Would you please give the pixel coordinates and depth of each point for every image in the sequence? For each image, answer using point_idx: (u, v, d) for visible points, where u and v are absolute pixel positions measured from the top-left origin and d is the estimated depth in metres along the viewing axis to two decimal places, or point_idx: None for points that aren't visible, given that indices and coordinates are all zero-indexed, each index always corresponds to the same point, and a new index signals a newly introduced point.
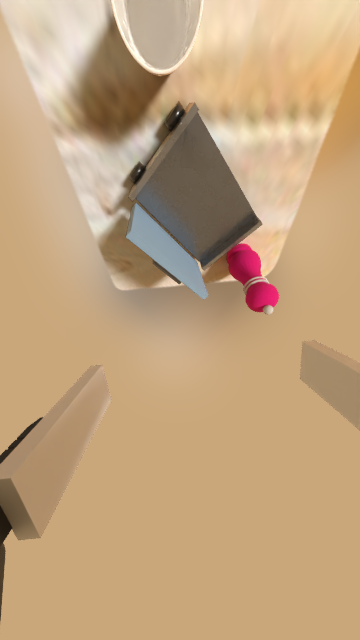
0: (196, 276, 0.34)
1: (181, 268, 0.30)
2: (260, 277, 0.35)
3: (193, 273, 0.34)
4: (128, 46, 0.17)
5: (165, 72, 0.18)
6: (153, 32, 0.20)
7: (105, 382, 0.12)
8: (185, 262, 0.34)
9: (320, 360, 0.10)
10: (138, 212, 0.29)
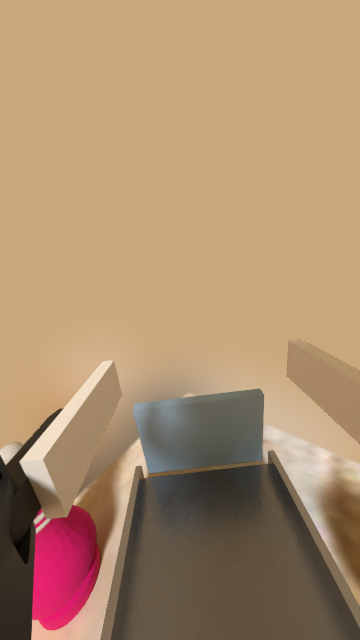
0: (156, 430, 0.24)
1: (188, 415, 0.23)
2: (38, 528, 0.16)
3: (163, 430, 0.24)
4: None
5: None
6: None
7: (116, 377, 0.12)
8: (178, 438, 0.25)
9: (303, 357, 0.10)
10: (257, 444, 0.25)
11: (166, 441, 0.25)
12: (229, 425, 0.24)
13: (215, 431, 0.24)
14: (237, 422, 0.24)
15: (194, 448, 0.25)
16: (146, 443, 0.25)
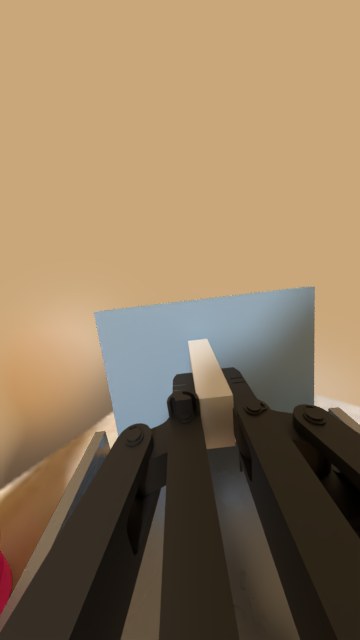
0: (133, 355, 0.14)
1: (186, 324, 0.14)
2: None
3: (144, 356, 0.14)
4: None
5: None
6: None
7: None
8: (170, 373, 0.15)
9: None
10: (304, 391, 0.15)
11: (149, 379, 0.15)
12: (256, 349, 0.14)
13: (232, 361, 0.14)
14: (269, 343, 0.14)
15: None
16: (116, 381, 0.15)
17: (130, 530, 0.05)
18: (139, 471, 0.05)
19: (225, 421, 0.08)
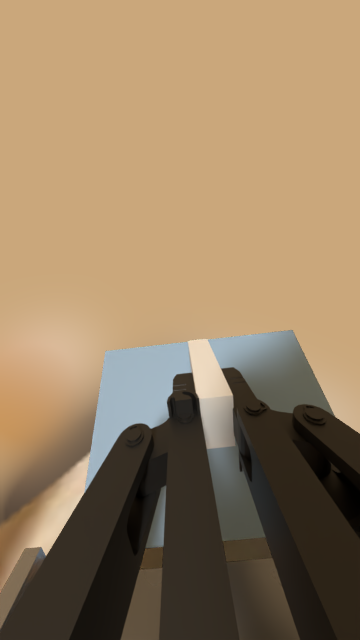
0: (129, 392, 0.14)
1: (184, 361, 0.15)
2: None
3: (140, 393, 0.14)
4: None
5: None
6: None
7: None
8: (165, 415, 0.13)
9: None
10: None
11: (141, 422, 0.13)
12: (256, 386, 0.14)
13: None
14: (269, 380, 0.14)
15: None
16: (103, 425, 0.13)
17: (130, 530, 0.05)
18: (139, 471, 0.05)
19: (225, 421, 0.08)
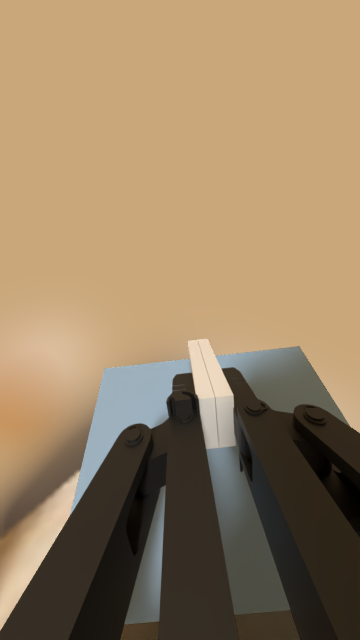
0: (126, 413, 0.13)
1: None
2: None
3: (138, 413, 0.13)
4: None
5: None
6: None
7: None
8: None
9: None
10: None
11: None
12: None
13: None
14: (279, 400, 0.13)
15: None
16: (95, 450, 0.12)
17: (129, 530, 0.05)
18: (138, 471, 0.05)
19: (226, 421, 0.08)
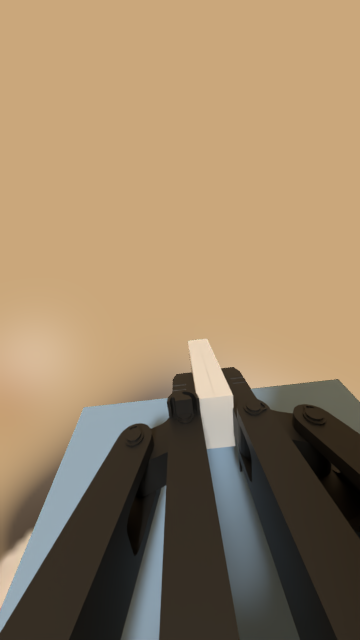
0: None
1: None
2: None
3: None
4: None
5: None
6: None
7: None
8: (156, 530, 0.07)
9: None
10: None
11: None
12: None
13: None
14: None
15: None
16: (41, 550, 0.07)
17: (130, 530, 0.05)
18: (139, 471, 0.05)
19: (225, 421, 0.08)
